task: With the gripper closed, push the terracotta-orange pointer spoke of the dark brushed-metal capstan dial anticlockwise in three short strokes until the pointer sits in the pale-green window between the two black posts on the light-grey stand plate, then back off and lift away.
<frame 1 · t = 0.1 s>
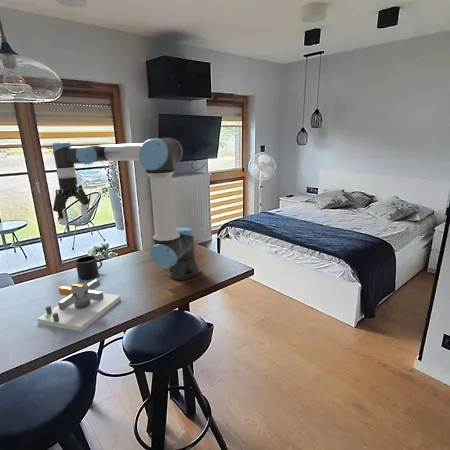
hand: (75, 221, 151), 28 cm above the table, fingers open, 13 cm apart
stand plate: (81, 310, 125), on the table
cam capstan: (81, 295, 125), point 6 cm above the table, hinge at 0.0°
mug: (91, 275, 158), on the table
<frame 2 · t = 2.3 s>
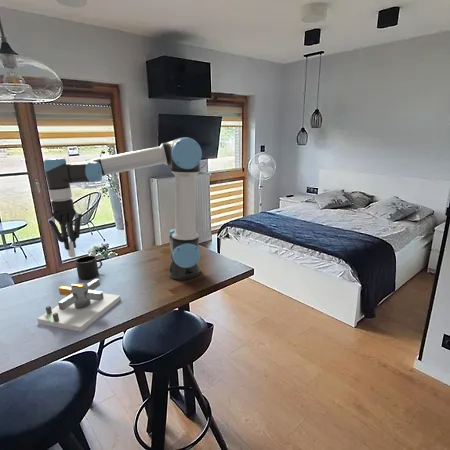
hand: (72, 256, 128), 20 cm above the table, fingers closed
nothing on the table moved.
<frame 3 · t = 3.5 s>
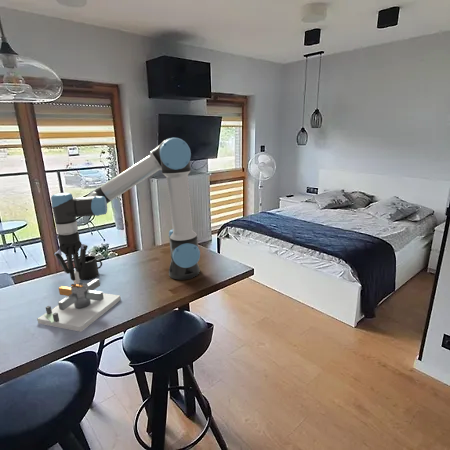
hand: (77, 286, 131), 7 cm above the table, fingers closed
nothing on the table moved.
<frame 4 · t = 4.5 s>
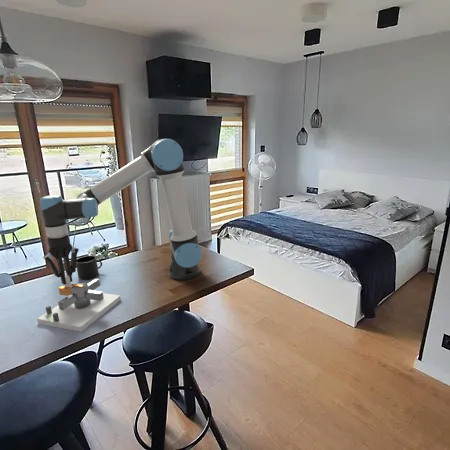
hand: (68, 290, 129), 7 cm above the table, fingers closed
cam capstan: (81, 295, 125), point 6 cm above the table, hinge at 0.0°, touching gripper
everything else where it was.
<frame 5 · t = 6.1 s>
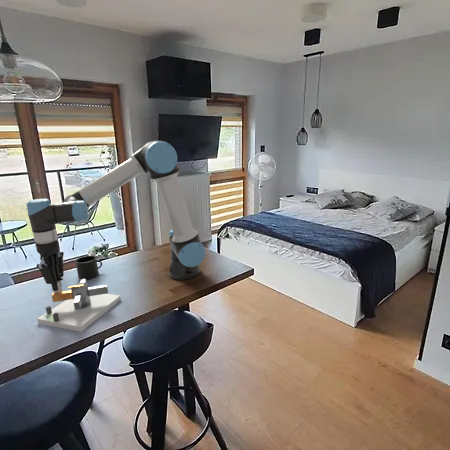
hand: (59, 296, 124), 6 cm above the table, fingers closed
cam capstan: (81, 295, 125), point 6 cm above the table, hinge at 34.9°, touching gripper
everything else where it was.
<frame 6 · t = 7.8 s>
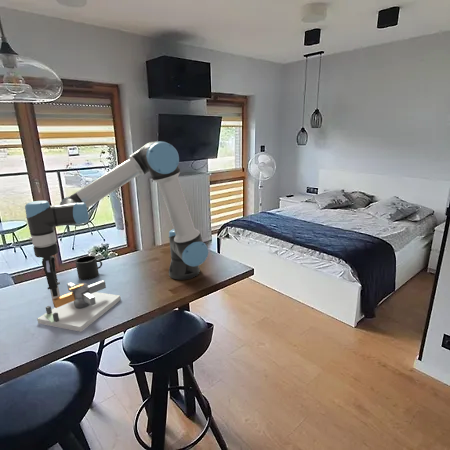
hand: (57, 302, 120), 6 cm above the table, fingers closed
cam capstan: (81, 295, 125), point 6 cm above the table, hinge at 67.1°, touching gripper
everything else where it was.
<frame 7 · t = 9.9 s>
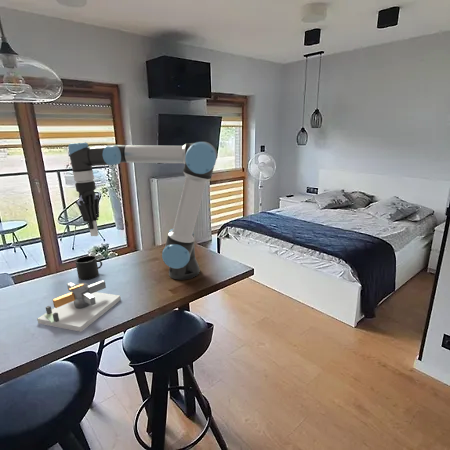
hand: (94, 235, 137), 25 cm above the table, fingers closed
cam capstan: (81, 295, 125), point 6 cm above the table, hinge at 67.2°
everything else where it was.
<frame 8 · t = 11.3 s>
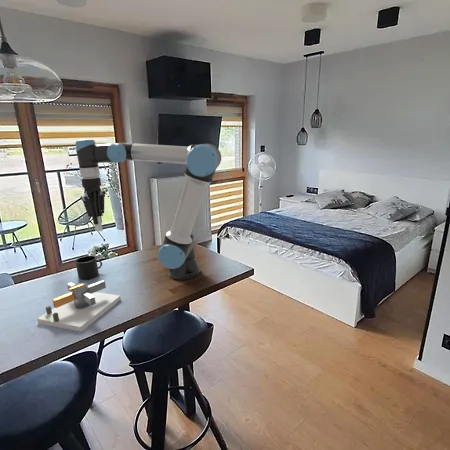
hand: (99, 230, 140), 26 cm above the table, fingers closed
nothing on the table moved.
at the end: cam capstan at +67° (first picture: +0°) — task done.
